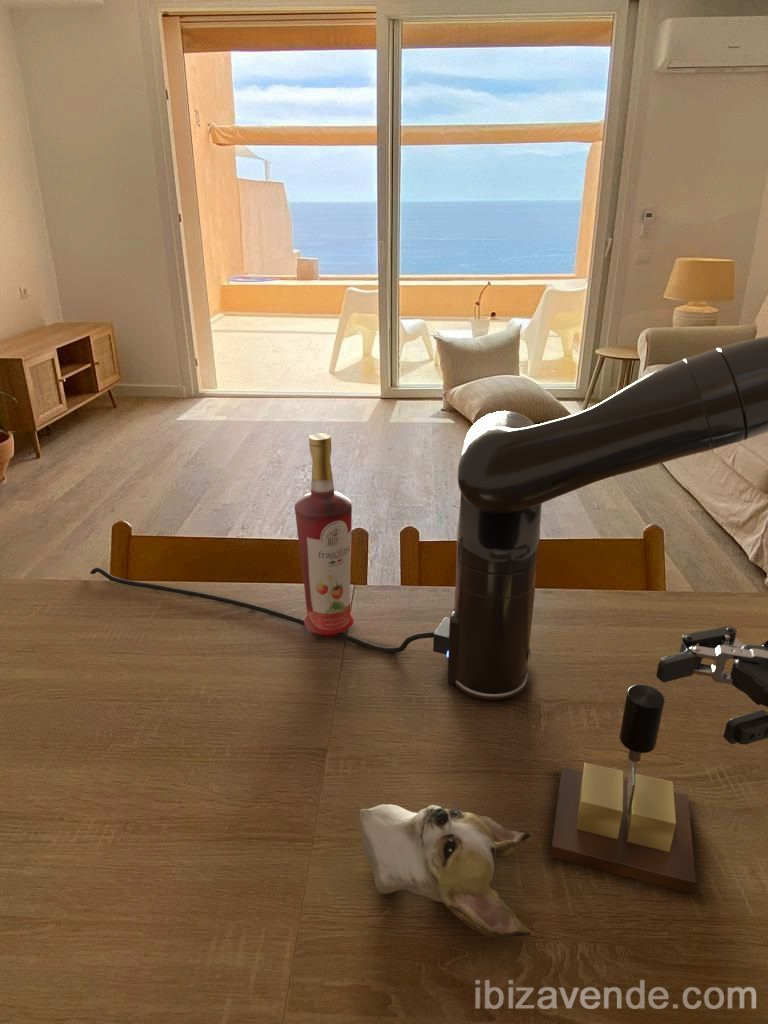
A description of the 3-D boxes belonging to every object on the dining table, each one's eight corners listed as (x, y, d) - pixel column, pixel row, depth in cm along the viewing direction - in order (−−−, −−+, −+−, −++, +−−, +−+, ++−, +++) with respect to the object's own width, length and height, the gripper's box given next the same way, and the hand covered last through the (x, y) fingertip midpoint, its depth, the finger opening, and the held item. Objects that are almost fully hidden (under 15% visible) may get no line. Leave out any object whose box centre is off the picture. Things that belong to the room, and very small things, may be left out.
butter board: (550, 857, 63) (555, 817, 61) (560, 777, 72) (565, 740, 69) (692, 894, 60) (703, 853, 57) (685, 805, 68) (694, 767, 66)
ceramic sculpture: (373, 751, 63) (541, 782, 61) (369, 818, 67) (527, 850, 64) (344, 851, 54) (541, 893, 51) (342, 922, 57) (525, 965, 55)
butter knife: (610, 810, 61) (627, 716, 57) (612, 758, 66) (627, 669, 62) (646, 818, 60) (666, 724, 56) (645, 766, 66) (663, 676, 61)
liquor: (316, 649, 92) (304, 450, 80) (294, 623, 98) (280, 433, 86) (365, 633, 95) (360, 439, 84) (341, 608, 101) (333, 423, 89)
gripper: (778, 592, 71) (645, 622, 66) (916, 675, 58) (765, 719, 54) (762, 652, 74) (634, 685, 69) (890, 744, 61) (745, 791, 57)
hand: (692, 700), depth 61 cm, fingers open, 8 cm apart
